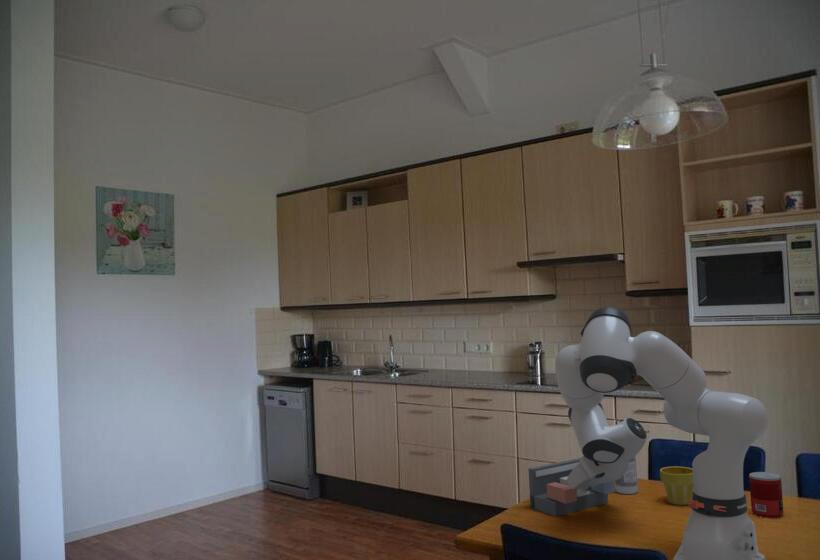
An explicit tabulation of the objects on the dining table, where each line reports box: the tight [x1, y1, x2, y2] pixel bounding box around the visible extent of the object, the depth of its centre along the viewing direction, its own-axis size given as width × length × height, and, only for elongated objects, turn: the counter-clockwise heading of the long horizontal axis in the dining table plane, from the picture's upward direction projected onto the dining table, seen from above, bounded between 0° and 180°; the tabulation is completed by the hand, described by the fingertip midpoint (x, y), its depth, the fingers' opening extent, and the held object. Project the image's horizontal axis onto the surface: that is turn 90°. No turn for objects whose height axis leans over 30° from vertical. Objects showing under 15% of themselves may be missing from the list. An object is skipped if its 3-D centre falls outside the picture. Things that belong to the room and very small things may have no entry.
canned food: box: [748, 471, 784, 519], centre depth 187 cm, size 8×8×11 cm
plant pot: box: [659, 465, 694, 506], centre depth 201 cm, size 10×10×10 cm
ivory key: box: [560, 476, 590, 497], centre depth 201 cm, size 8×5×4 cm, turn 31°
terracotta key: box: [547, 482, 577, 504], centre depth 195 cm, size 8×5×4 cm, turn 31°
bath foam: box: [614, 455, 639, 495], centre depth 215 cm, size 7×7×20 cm
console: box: [528, 457, 609, 518], centre depth 203 cm, size 11×22×12 cm, turn 121°
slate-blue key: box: [592, 480, 616, 494], centre depth 203 cm, size 8×5×4 cm, turn 31°
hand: (585, 489), depth 197 cm, fingers closed
